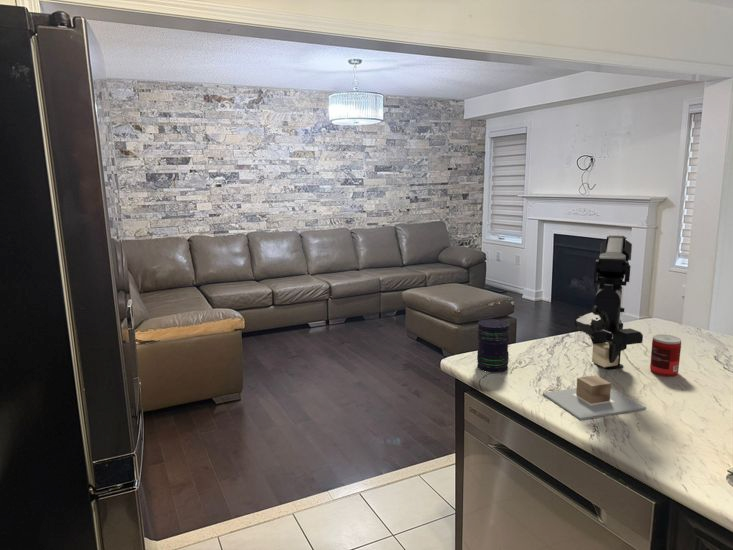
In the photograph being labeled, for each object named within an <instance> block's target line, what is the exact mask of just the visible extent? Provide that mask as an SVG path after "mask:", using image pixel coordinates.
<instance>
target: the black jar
mask: <svg viewBox="0 0 733 550" xmlns="http://www.w3.org/2000/svg"><path fill="white" fill-rule="evenodd" d="M477 326H478V327H477V328H478V329H477V340H478V349H477V354H476V355H477V356H476V359H477V362H476V363H477V369H478V368H479V370H480V371H482V372H484V371H486V372H485V373H489V372H491V373H492V374H502V373H505V372H507V371H508V369H509V361H510V360H509V359H510V358H509V341H510V322H509V321H507V320H504V319H500V318H499V319H498V318H483V319H480V320H478V324H477Z"/></svg>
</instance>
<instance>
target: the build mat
mask: <svg viewBox="0 0 733 550" xmlns="http://www.w3.org/2000/svg"><path fill="white" fill-rule="evenodd" d="M576 390H577V387H573V388H566V389H560V390H554V391H546V392H542V395H543V396H544V397H545V398H547V399H548V400H550V401H552V402H553V403H555V404H556V405H557V404H558V405H557V406H559V405H560V406H561V408H562V407H563V408H564V409H563V408H562V409H563V410H565V409H566V410H567V413H569V412H570V413H569V414H570V415H572V416H574V417H575V418H577V419H578V420H580V421H582V420H587V419H593V418H600V417H607V416H611V415H618V414H623V413H631V412H636V411H643V410H646V409H647V407H646V406H645V405H642V404H641V403H639V402H637V401H635V400H633V399H632V398H629V397H627V396H625V395H624V394H621V393H620V392H619V391H617V390H615V389H612V388H611V391H610V401H605V402H599V403H592V404H591V403H589V402H587V401H586V400H584V399H582V398H581V397H579V396H577V395H576ZM560 406H559V407H560ZM566 410H565V411H566Z"/></svg>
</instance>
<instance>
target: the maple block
mask: <svg viewBox="0 0 733 550" xmlns="http://www.w3.org/2000/svg"><path fill="white" fill-rule="evenodd" d="M591 353H592V354H591V363H593V364H595V363H596V364H595V365H597V364H598V365H597V366H599V365H600V367H601V366H602V368H603V367H609V366H616V365H618V357H619V355H618V357H617V358H616V360H615V361H614V363H610V362H609V344H608V343H607V342H606V343H598V344H593V343H592V352H591Z"/></svg>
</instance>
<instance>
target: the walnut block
mask: <svg viewBox="0 0 733 550" xmlns="http://www.w3.org/2000/svg"><path fill="white" fill-rule="evenodd" d="M576 388H577V390H576V395H577V396H579V397H581V398H582V399H584V400H586V401H587V402H589V403H591V404H592V403H599V402H605V401H610V391H611V389H612V383H611V382H609V381H607V380H605V379H604V378H603V377H600V376H598V375H596V374H595V375H589V376H582V377H577V378H576Z"/></svg>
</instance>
